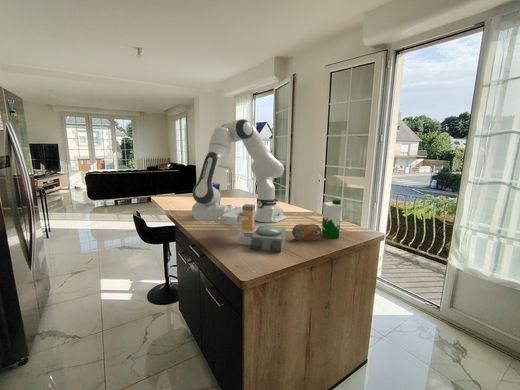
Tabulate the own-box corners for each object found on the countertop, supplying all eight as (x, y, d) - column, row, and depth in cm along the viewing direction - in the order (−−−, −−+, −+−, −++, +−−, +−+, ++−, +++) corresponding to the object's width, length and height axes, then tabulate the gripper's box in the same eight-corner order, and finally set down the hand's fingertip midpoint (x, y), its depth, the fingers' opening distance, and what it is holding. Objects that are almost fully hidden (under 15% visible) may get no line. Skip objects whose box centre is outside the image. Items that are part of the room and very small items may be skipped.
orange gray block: (242, 230, 128) (242, 206, 125) (244, 227, 132) (245, 204, 130) (252, 231, 127) (252, 206, 124) (254, 228, 131) (254, 204, 129)
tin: (292, 240, 134) (293, 224, 132) (291, 238, 137) (292, 223, 135) (321, 240, 135) (322, 224, 134) (319, 238, 138) (320, 223, 137)
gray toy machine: (236, 248, 122) (236, 232, 120) (246, 234, 141) (246, 221, 140) (280, 252, 118) (281, 236, 117) (285, 238, 137) (286, 224, 136)
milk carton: (341, 238, 139) (344, 201, 135) (324, 238, 138) (327, 201, 134) (335, 233, 147) (338, 198, 144) (319, 233, 147) (322, 198, 143)
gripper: (216, 213, 120) (245, 215, 118) (229, 204, 140) (254, 206, 137) (216, 226, 121) (244, 228, 119) (229, 215, 141) (254, 217, 138)
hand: (250, 216), depth 128 cm, fingers closed on orange gray block, 5 cm apart
